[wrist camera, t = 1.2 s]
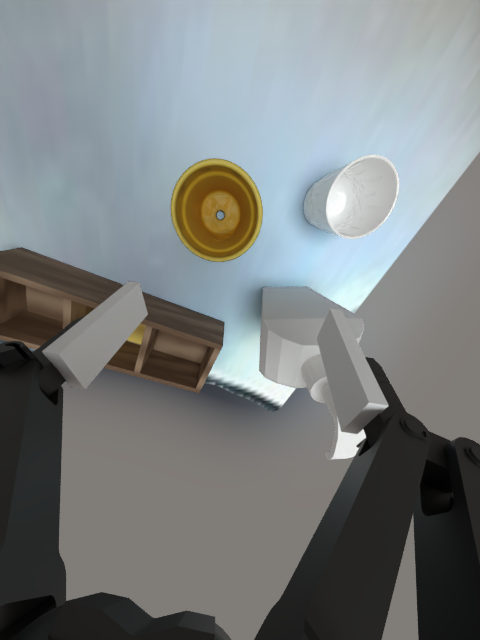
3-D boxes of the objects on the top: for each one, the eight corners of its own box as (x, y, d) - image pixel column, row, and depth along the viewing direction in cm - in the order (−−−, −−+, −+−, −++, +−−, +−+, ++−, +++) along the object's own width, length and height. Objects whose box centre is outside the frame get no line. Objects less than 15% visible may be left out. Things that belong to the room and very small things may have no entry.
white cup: (289, 218, 31) (312, 221, 22) (317, 161, 28) (357, 138, 19) (330, 239, 33) (366, 249, 24) (361, 187, 29) (415, 177, 21)
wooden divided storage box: (21, 247, 32) (-38, 257, 25) (224, 322, 40) (222, 345, 33) (26, 312, 37) (-21, 335, 30) (203, 366, 45) (198, 394, 38)
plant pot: (236, 260, 34) (237, 276, 25) (178, 230, 31) (158, 237, 23) (266, 197, 30) (280, 192, 21) (202, 157, 27) (189, 132, 18)
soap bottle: (250, 329, 41) (273, 473, 18) (252, 282, 36) (285, 402, 13) (308, 328, 41) (400, 468, 19) (318, 282, 36) (457, 397, 14)
